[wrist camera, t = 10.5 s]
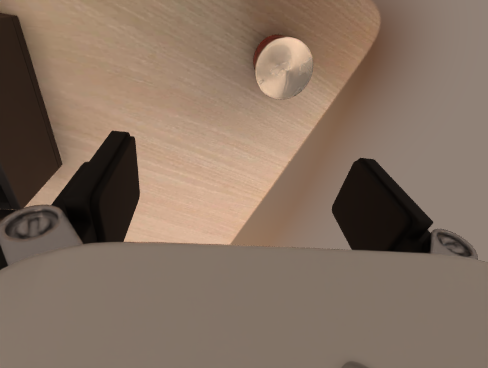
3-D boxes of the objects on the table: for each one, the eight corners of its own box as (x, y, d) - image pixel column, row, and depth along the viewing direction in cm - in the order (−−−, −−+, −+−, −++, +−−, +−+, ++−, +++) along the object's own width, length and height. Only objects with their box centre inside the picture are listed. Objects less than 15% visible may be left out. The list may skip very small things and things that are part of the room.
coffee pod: (255, 26, 23) (261, 31, 20) (307, 35, 24) (321, 42, 21) (246, 83, 26) (250, 95, 23) (293, 89, 27) (303, 102, 24)
